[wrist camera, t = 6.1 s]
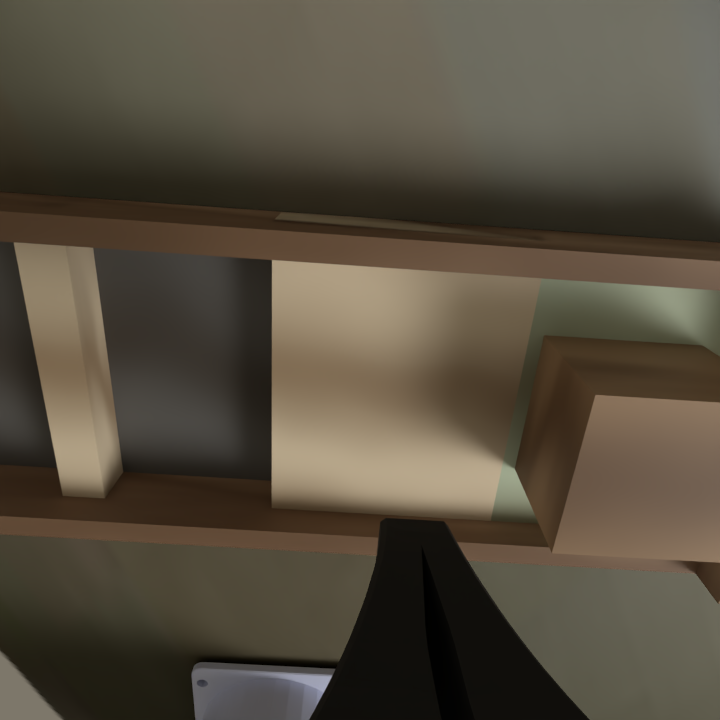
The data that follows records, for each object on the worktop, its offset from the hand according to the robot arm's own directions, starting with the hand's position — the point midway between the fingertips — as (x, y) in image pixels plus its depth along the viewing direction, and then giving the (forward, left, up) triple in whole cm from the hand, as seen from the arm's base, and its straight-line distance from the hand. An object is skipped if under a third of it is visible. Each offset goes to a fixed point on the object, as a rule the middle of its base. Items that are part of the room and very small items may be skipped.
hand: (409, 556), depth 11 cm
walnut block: (0, -7, -7) cm, 10 cm away
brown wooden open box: (0, +3, -9) cm, 9 cm away
